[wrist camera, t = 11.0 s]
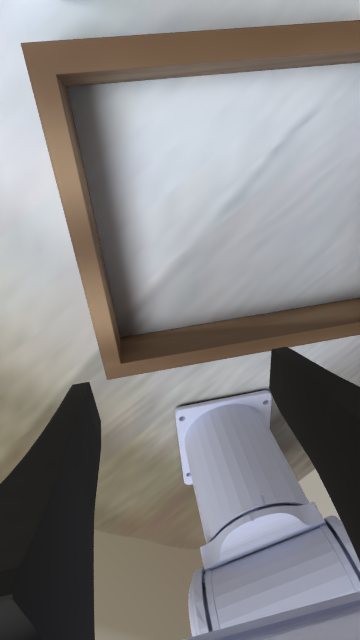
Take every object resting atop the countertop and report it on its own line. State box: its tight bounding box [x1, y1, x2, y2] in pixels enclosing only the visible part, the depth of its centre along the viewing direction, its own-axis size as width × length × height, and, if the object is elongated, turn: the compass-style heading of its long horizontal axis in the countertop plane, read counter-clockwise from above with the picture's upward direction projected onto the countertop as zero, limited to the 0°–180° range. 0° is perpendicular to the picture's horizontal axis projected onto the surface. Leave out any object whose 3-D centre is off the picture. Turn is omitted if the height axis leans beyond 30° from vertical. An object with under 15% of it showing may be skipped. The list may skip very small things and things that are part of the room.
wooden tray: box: [21, 20, 360, 380], centre depth 18 cm, size 16×20×3 cm
